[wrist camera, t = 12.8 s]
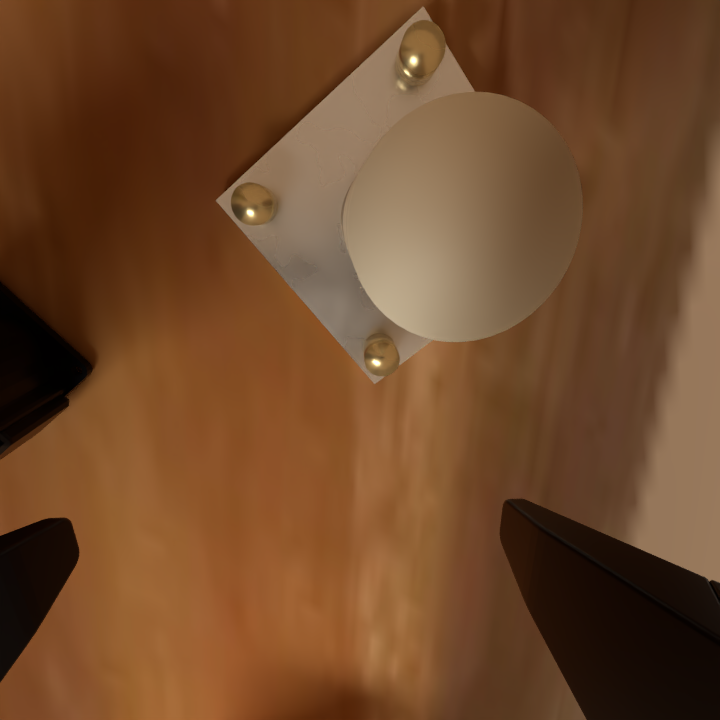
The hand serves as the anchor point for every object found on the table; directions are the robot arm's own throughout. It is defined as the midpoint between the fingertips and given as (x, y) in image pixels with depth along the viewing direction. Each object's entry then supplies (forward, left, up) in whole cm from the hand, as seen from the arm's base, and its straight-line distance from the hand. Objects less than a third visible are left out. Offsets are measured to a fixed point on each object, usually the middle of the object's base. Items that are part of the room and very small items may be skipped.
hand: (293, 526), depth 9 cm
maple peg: (-2, +7, -12) cm, 14 cm away
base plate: (-2, +6, -13) cm, 15 cm away
